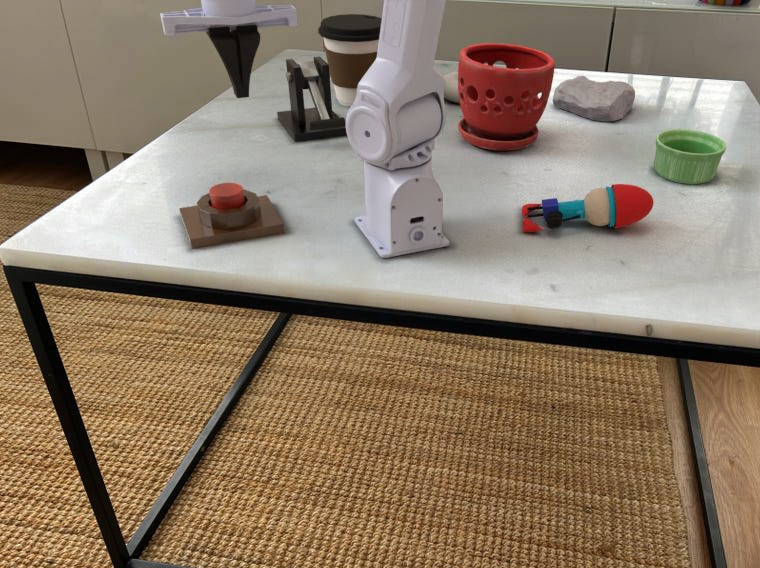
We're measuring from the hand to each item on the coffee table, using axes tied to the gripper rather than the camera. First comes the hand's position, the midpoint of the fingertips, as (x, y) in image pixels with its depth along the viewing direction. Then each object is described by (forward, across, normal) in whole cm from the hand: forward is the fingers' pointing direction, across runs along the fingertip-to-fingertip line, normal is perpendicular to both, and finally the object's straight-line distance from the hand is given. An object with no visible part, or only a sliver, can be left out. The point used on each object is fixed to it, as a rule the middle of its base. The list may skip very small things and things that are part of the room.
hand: (241, 95), depth 85 cm
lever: (+6, -12, -12) cm, 18 cm away
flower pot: (+11, -36, -1) cm, 38 cm away
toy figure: (+11, -33, +26) cm, 43 cm away
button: (+8, +5, +12) cm, 15 cm away
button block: (+10, +5, +12) cm, 17 cm away
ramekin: (+11, -54, +18) cm, 58 cm away
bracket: (+10, -12, -15) cm, 22 cm away
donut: (+11, -40, -20) cm, 46 cm away
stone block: (+11, -56, -8) cm, 58 cm away
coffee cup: (+11, -22, -24) cm, 34 cm away
